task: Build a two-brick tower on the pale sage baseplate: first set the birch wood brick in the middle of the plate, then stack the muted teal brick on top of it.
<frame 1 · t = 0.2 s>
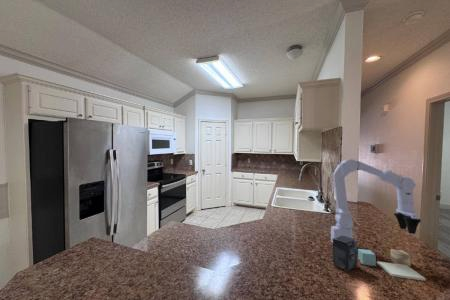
hand: (407, 231, 92), 10 cm above the countertop, fingers open, 7 cm apart
brick base: (400, 263, 80), on the countertop
baseplate: (399, 271, 73), on the countertop
box: (345, 266, 76), on the countertop
brick top: (366, 262, 79), on the countertop
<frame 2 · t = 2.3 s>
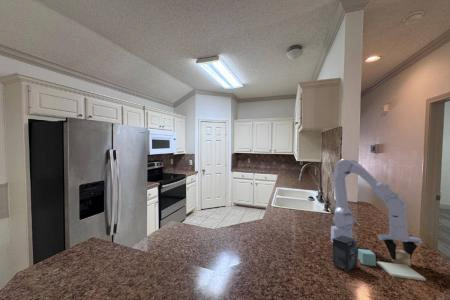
hand: (400, 259, 80), 1 cm above the countertop, fingers closed on brick base, 4 cm apart
brick base: (400, 262, 80), on the countertop, touching gripper
everything else where it was.
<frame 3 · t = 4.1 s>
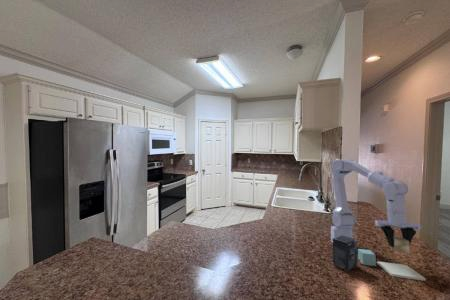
hand: (398, 246, 75), 8 cm above the countertop, fingers closed on brick base, 4 cm apart
brick base: (398, 250, 75), point 7 cm above the countertop, touching gripper
everything else where it was.
when the fingers open (3 cm above the countertop, at t = 5.7 s): brick base stays where it is, resting on baseplate.
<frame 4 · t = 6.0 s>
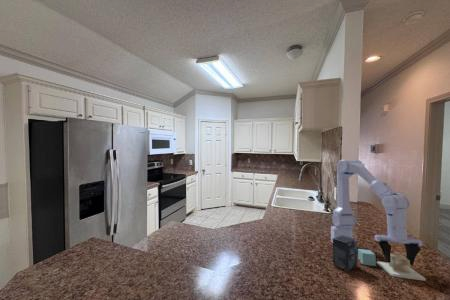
hand: (398, 262, 73), 3 cm above the countertop, fingers open, 7 cm apart
brick base: (399, 269, 73), point 1 cm above the countertop, touching baseplate
everything else where it was.
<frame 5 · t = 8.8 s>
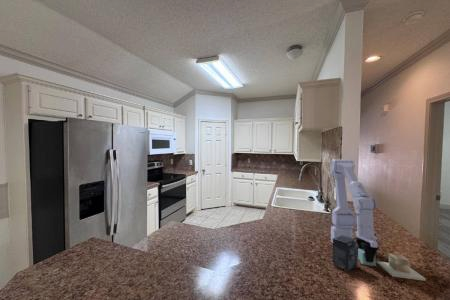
hand: (366, 259, 80), 1 cm above the countertop, fingers closed on brick top, 4 cm apart
brick top: (366, 262, 79), on the countertop, touching gripper
everything else where it was.
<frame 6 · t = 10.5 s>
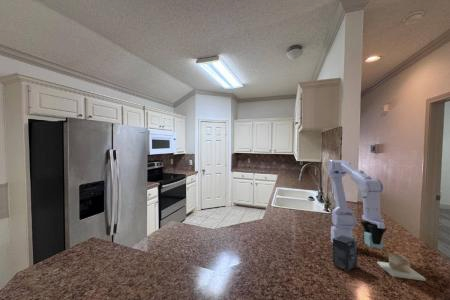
hand: (373, 241, 79), 9 cm above the countertop, fingers closed on brick top, 4 cm apart
brick top: (373, 245, 78), point 8 cm above the countertop, touching gripper
everything else where it was.
when the fingers open (8 cm above the countertop, at t = 12.1 s): brick top stays where it is, resting on brick base.
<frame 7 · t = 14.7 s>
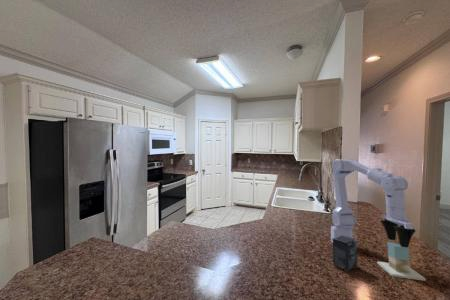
hand: (397, 243, 74), 10 cm above the countertop, fingers open, 7 cm apart
brick base: (399, 269, 73), point 1 cm above the countertop, touching baseplate, brick top
brick top: (398, 256, 73), point 5 cm above the countertop, touching brick base
everything else where it was.
at the end: brick base 0.0 cm off-centre on the baseplate, point 0.8 cm above the baseplate's base; brick top 0.1 cm off-centre on the brick base, point 4.5 cm above the brick base's base; brick top tilted 0° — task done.
